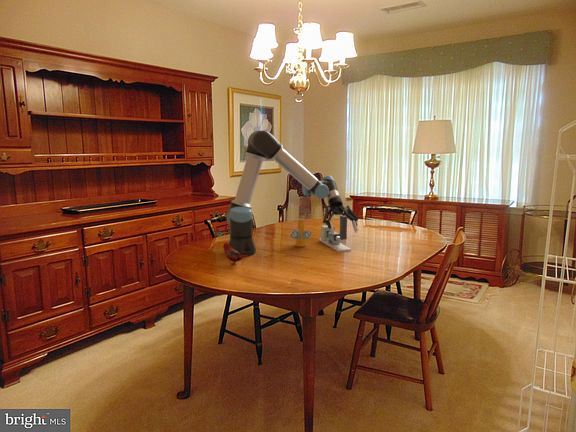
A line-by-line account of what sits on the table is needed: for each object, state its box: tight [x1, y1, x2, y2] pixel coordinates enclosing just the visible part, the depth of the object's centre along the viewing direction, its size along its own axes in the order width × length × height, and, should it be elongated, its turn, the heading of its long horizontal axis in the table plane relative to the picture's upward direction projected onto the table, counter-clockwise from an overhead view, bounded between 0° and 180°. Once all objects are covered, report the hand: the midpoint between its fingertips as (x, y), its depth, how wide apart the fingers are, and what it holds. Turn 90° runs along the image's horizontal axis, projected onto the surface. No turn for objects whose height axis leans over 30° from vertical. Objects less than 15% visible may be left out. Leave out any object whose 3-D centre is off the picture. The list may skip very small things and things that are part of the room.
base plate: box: [318, 238, 352, 253], centre depth 236 cm, size 28×8×1 cm, turn 17°
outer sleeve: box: [328, 231, 341, 245], centre depth 236 cm, size 7×4×6 cm, turn 17°
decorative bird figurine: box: [222, 242, 250, 266], centre depth 196 cm, size 3×18×10 cm, turn 51°
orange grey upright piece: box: [290, 218, 312, 248], centre depth 234 cm, size 12×10×15 cm
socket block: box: [320, 224, 336, 241], centre depth 245 cm, size 5×6×8 cm
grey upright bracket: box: [334, 215, 348, 245], centre depth 230 cm, size 17×3×15 cm, turn 17°
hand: (345, 232), depth 222 cm, fingers open, 13 cm apart
